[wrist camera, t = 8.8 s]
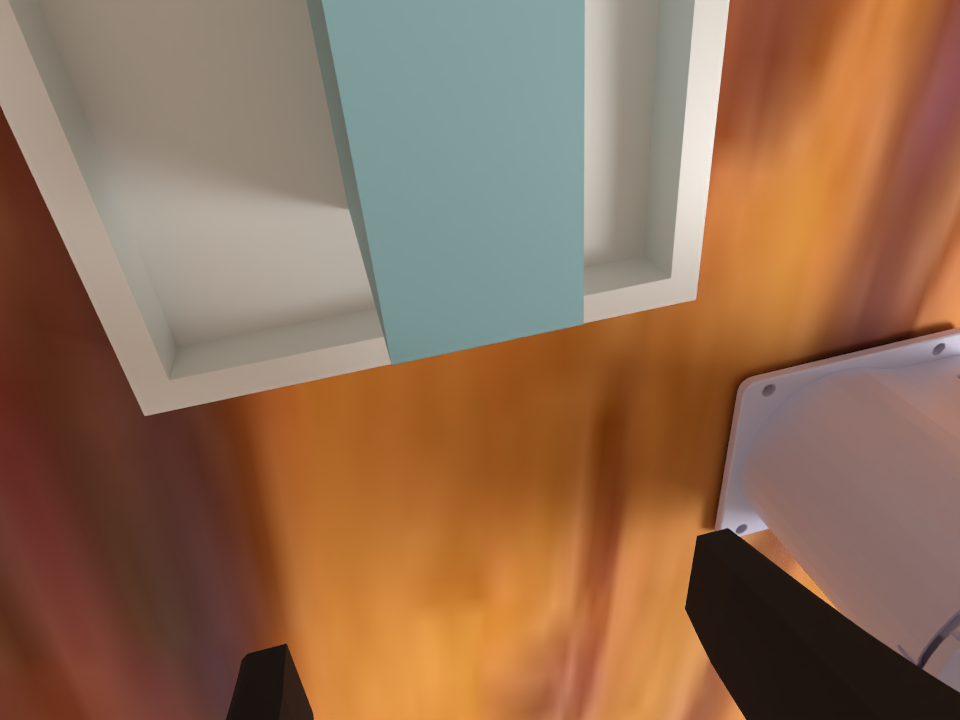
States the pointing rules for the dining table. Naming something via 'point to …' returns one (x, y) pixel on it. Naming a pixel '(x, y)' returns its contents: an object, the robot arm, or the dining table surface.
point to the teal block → (461, 163)
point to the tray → (309, 179)
